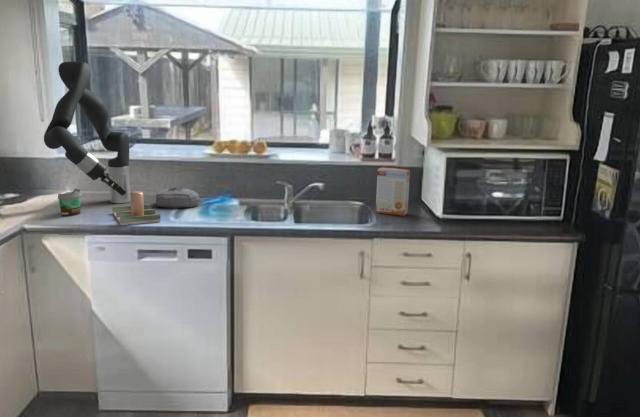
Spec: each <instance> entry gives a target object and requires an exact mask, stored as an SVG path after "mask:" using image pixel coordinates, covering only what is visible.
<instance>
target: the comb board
mask: <svg viewBox="0 0 640 417" xmlns="http://www.w3.org/2000/svg"><path fill="white" fill-rule="evenodd" d="M111 207H112V208H111V209H112V215H113V217H114V218H115V219H116V221H117V222H118V224H119V225H120V226H129V225H128V224H131V225H140V224H149V223H161V214H160V213H156V209H155V208H151V204H150V203H148V204H145V203H144V216H132V217H131V205H124V206H122V205H121V206H111Z"/></svg>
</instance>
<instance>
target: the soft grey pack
mask: <svg viewBox="0 0 640 417" xmlns="http://www.w3.org/2000/svg"><path fill="white" fill-rule="evenodd" d="M200 199H201V198H200V196H199V193H198V192H197V191H194V190H192V189H189V188H182V187H170V188H166V189H161V190H158V191H157V193H156V196H155V203H156V206H157V207H160V208H167V209H168V208H169V209H170V208H171V209H184V208H193V207H196V206H198V205H199V201H200Z"/></svg>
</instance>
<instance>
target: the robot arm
mask: <svg viewBox="0 0 640 417" xmlns="http://www.w3.org/2000/svg"><path fill="white" fill-rule="evenodd" d="M58 75H59V77H60V79H61V81H62V84H64V85H65V87H66V88H67V89H68V90H67V92H66V93H65V94H64V95H63V96H62V97H60V99H59V100H58V102H57V103H56V106H55V107H54V111H53V114H52V118H51V120H50V123H49V124H48V126H47V128H46V130H45V131H44V135H43V144H44V145H45V146H46V147H47V148H48V149H52V150H56V149H57V150H58V149H59V148H61V147H62V148H63V149H64V150H65V154H64V155H65V157H66V159H67V160H69V161H70V162H72V163H73V164H74V165H75V166H76V167H77V168H78V169H79V170H80V171H81V172H82V173H83V174H85V176H87V177H88V178H90V179H91V180H92V181H97V180H98V179H99V178H100V181H101V182H102V184H104V185H106V186H107V187H109V198H110V199H109V202H110V203H113V204H124V203H125V204H126V203H131V200H130V192H131V184H130V182H131V181H130V165H129V164H130V163H129V161H130V138H129V135H128V133H126V132H125V131H112V130H110V128H109V127H108V120H109V115H110V113H109V111H110V110H109V109H108V108H107V105H106V104H105V102H104V101H103V99H102V98H101V97H100V96H98V95H97V94H96V93H94V92H93V91H91V90H90V89H88V88H87V86H88V85H89V83H90V81H91V76H92V70H91V67H90V65H89V63H88V62H86V61H81V60H80V61H79V60H78V61H76V60H75V61H72V60H71V61H63V62H61V63H60V64H59V65H58ZM78 104H79V105H80V107H81V109H82V111H83V112H84V114H85V116H86V118H87V119H88V120H89V122H90V123H91V125H92V127H93V128H94V130H95V132H96V133H97V136H98V138H99V140H100V142H101V144H102V146H103V147H104V150H106V151H109V152H112V153H113V152H117V153H116V154H117V155H116V156H115V157H114V158H110V159H108V160H107V166H106V165H105V163H103V162H102V161H100V160H99V159H98V158H97V157H96V156H94V155H93V154H92V153H90V152H89V151H88V150H86V149H85V148H84V147H83V146H82V145H80V144H79V142H78V140H77V139H76V138H75V137H74V135H73V134H72V133H71V131H69V130H68V129H69V127H70V126H71V125H72V122H73V119H74V116H75V113H76V109H77V108H78ZM107 168H108V172H106V173H105V171H106V170H107Z"/></svg>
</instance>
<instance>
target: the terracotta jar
mask: <svg viewBox="0 0 640 417" xmlns="http://www.w3.org/2000/svg"><path fill="white" fill-rule="evenodd" d="M144 199H145V198H144V192H143V191H140V190H138V191H137V190H135V191H130V200H131V201H130V206H131V217H132V216H144V205H145V203H144Z"/></svg>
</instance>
